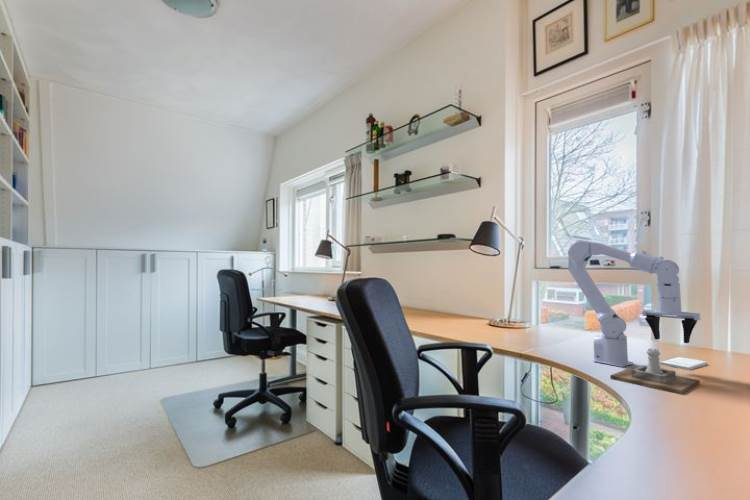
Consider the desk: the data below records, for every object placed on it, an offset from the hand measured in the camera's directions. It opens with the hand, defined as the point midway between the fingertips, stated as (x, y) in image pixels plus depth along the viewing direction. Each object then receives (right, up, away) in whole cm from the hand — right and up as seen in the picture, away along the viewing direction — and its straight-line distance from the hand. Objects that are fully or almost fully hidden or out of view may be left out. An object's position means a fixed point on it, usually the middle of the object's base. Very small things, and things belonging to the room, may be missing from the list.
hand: (671, 340), depth 117 cm
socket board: (-13, -9, -10) cm, 19 cm away
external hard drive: (+9, -10, +6) cm, 15 cm away
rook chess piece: (-13, -8, -10) cm, 18 cm away
